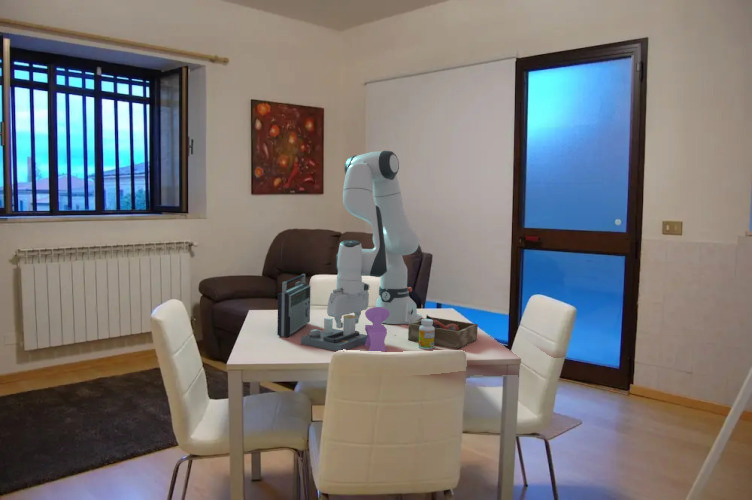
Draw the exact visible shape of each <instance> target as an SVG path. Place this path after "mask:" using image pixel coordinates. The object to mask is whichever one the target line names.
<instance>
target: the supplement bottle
mask: <svg viewBox="0 0 752 500" xmlns="http://www.w3.org/2000/svg"><path fill="white" fill-rule="evenodd" d="M421 319H422V321H421V324H422V325H421V326H420V327H419V342H418V348H419V349H421V350H433V349H434V348H435V345H434V335H435V328H434V327H433V326H432V325H433V320H431V319H424V318H421Z"/></svg>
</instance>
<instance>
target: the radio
mask: <svg viewBox="0 0 752 500" xmlns="http://www.w3.org/2000/svg"><path fill="white" fill-rule="evenodd" d="M297 280H300V281H297ZM295 281H297V282H295ZM292 282H295V286H293V287H289V288H287V285H288V284H291V283H292ZM281 284H282V286H281V287H282V288H281V289H282V290H281V291H282V292H280V293H278V294H277V327H276V329H277V331H276V332H277V334H276V335H277V336H278V337H282V338H283V337H284V338H285V337H286V338H287V337H289V336H291V335H292V334H295V332H297V331H298V330H300V329H301V328H303V327H304V326H306V325H307V324H309V323H310V321H311V285H309V284H307V283H306V273H302V274H301V275H298V276H296V277H293V278H291V279H288V280H285V281H282V283H281Z"/></svg>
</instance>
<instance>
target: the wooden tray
mask: <svg viewBox="0 0 752 500" xmlns="http://www.w3.org/2000/svg"><path fill="white" fill-rule="evenodd" d="M430 317H431V318H433V319H434V320H437V321H439V322H440V323H442V324H444V325H445V326H446V325H448V324H456V325H458V324H460V323H461V324H462V325H461V326H460V327H459V331H453V330H447V329H441V328H435V327H434V328H435V335H434V346H436V347H437V346H439V347H443V348H451V349H455V350H460V349H462V348H465V347H466V346H468V345H467V344H469V343H471V344H473V343H474V341H475V342H476V340H477V341H478V327H479V326H478V323H473V322H464V321H459V320H453V319H446V318H440V317H432V316H430ZM422 319H426V317H425V318H421V319H419V320H418V321H416V322H413V323H410V324H408V332H407V333H408V335H407V337H408V338H407V340H408V341H411V342H417V343H419V327H420V326H421V325H422V324H421V321H422ZM472 342H473V343H472ZM465 345H466V346H465ZM469 345H470V344H469Z"/></svg>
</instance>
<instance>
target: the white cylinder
mask: <svg viewBox="0 0 752 500" xmlns="http://www.w3.org/2000/svg"><path fill="white" fill-rule="evenodd" d="M354 315H355V314H346V315H343V316H342V317H343V322H342V323H343V328H342V330H343V335H344V336H346V335H349V334H352V333H355V331H356V324H355V321H356V316H354Z"/></svg>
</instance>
